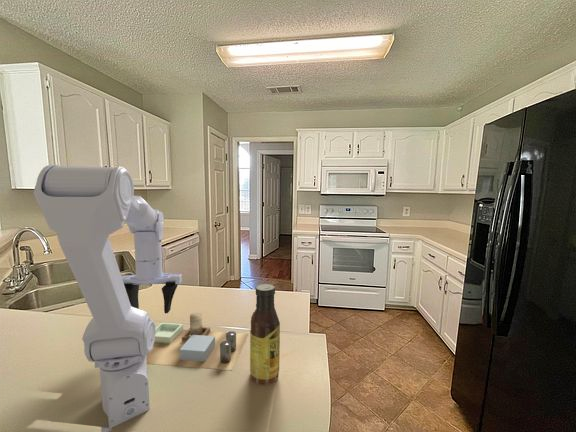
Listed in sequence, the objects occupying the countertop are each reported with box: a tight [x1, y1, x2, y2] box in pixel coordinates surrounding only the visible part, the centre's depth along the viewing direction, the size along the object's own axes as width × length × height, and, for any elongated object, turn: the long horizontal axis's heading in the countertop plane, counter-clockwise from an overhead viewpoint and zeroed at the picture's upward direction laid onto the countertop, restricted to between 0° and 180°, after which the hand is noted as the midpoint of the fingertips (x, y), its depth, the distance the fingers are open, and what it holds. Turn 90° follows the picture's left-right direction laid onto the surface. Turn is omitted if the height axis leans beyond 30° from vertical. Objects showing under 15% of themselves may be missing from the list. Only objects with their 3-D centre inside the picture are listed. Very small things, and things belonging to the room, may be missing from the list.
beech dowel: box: [189, 311, 203, 336], centre depth 67 cm, size 3×3×6 cm
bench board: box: [146, 326, 249, 371], centre depth 63 cm, size 25×14×2 cm, turn 84°
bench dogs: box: [220, 330, 237, 364], centre depth 60 cm, size 2×6×4 cm, turn 174°
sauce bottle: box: [249, 283, 281, 386], centre depth 53 cm, size 6×6×20 cm
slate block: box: [180, 335, 215, 362], centre depth 61 cm, size 6×6×2 cm
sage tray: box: [154, 322, 184, 344], centre depth 67 cm, size 6×6×2 cm
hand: (151, 312), depth 62 cm, fingers open, 7 cm apart
